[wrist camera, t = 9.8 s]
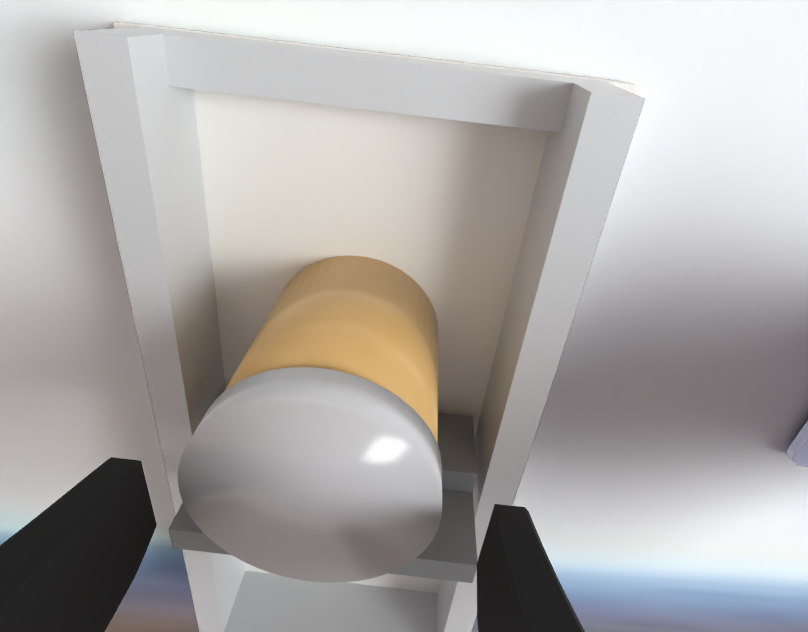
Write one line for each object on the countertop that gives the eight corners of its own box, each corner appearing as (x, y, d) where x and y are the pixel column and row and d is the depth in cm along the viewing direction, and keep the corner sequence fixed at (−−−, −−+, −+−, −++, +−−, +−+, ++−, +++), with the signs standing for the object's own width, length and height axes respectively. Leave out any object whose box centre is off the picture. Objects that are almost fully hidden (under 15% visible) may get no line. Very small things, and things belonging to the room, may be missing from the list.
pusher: (230, 387, 17) (164, 508, 13) (472, 416, 17) (483, 546, 13) (234, 423, 17) (172, 548, 13) (464, 451, 17) (472, 583, 13)
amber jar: (450, 260, 14) (457, 416, 9) (432, 403, 17) (429, 593, 11) (265, 244, 14) (155, 388, 9) (277, 389, 17) (197, 569, 11)
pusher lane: (127, 22, 12) (-80, 30, 7) (627, 82, 12) (752, 129, 7) (214, 566, 23) (157, 709, 19) (470, 596, 24) (478, 746, 19)
